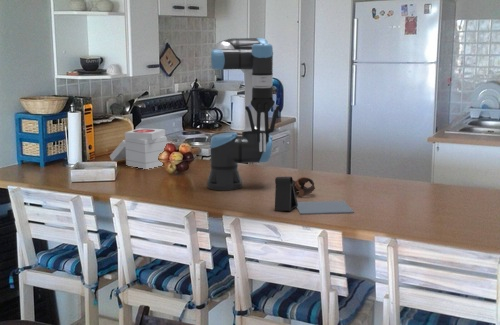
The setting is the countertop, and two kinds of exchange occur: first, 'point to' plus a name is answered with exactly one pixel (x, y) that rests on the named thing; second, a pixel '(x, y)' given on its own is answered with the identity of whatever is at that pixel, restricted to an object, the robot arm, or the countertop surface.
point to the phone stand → (285, 194)
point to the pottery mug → (301, 188)
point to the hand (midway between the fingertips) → (262, 151)
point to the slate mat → (323, 207)
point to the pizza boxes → (141, 148)
